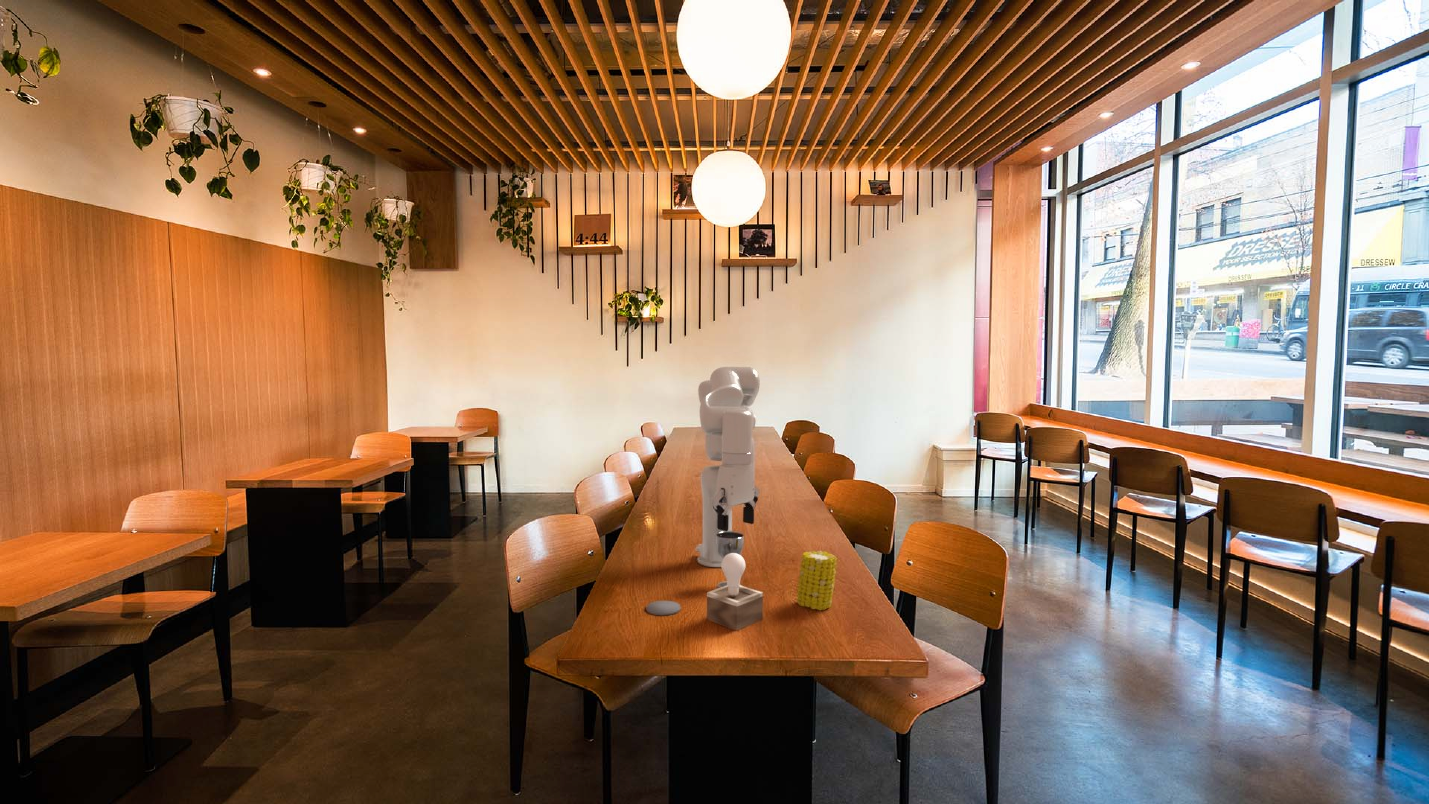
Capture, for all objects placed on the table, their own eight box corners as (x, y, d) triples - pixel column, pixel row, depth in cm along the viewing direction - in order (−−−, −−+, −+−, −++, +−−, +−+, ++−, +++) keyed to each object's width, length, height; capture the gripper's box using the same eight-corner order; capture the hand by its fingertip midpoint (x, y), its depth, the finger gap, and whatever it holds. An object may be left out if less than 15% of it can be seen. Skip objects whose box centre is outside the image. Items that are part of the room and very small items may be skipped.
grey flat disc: (639, 611, 173) (639, 609, 173) (658, 600, 181) (658, 598, 181) (668, 618, 169) (668, 615, 169) (686, 606, 177) (686, 604, 177)
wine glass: (746, 582, 196) (746, 532, 195) (738, 591, 189) (739, 539, 188) (720, 579, 199) (721, 530, 198) (711, 588, 191) (712, 536, 190)
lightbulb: (720, 592, 171) (720, 550, 170) (743, 591, 171) (743, 549, 171) (722, 600, 165) (722, 557, 164) (747, 600, 165) (746, 556, 165)
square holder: (706, 619, 168) (707, 592, 168) (733, 609, 176) (733, 583, 175) (736, 630, 161) (736, 602, 161) (762, 619, 169) (762, 592, 168)
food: (792, 606, 182) (826, 606, 184) (806, 612, 171) (843, 612, 173) (791, 549, 185) (825, 549, 187) (806, 552, 173) (842, 552, 175)
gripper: (747, 454, 175) (746, 518, 176) (701, 461, 162) (701, 530, 163) (770, 457, 170) (769, 523, 171) (724, 464, 157) (723, 536, 158)
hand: (735, 526), depth 167 cm, fingers open, 9 cm apart
